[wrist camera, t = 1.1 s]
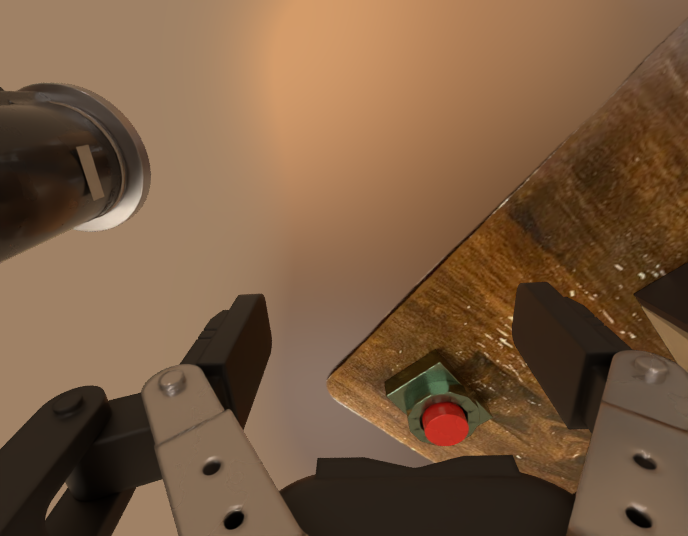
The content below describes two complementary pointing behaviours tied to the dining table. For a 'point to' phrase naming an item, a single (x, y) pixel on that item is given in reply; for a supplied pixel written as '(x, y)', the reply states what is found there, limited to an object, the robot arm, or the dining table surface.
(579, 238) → the dining table surface
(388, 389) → the button base
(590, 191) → the dining table surface
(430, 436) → the button
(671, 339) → the oven
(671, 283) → the oven door
